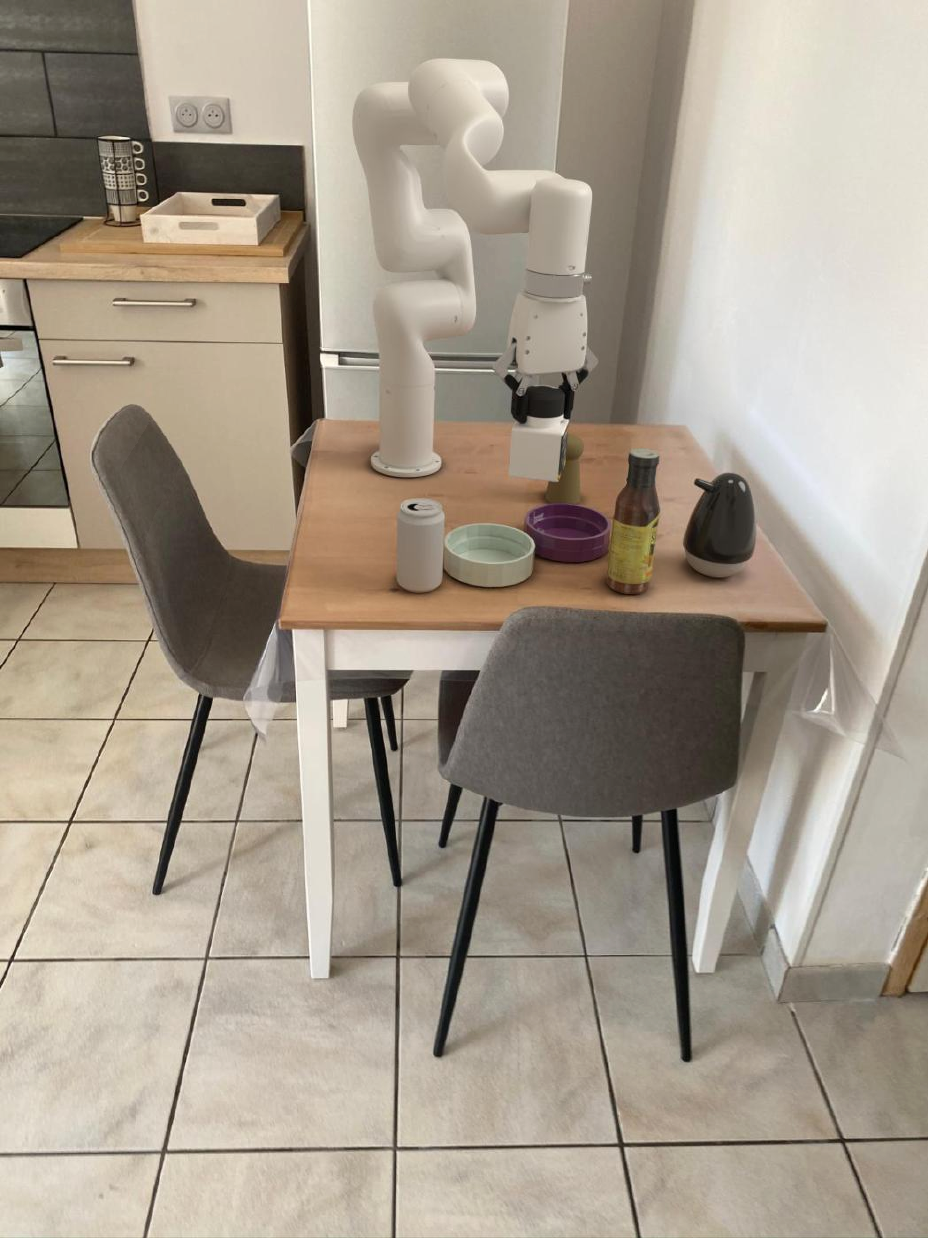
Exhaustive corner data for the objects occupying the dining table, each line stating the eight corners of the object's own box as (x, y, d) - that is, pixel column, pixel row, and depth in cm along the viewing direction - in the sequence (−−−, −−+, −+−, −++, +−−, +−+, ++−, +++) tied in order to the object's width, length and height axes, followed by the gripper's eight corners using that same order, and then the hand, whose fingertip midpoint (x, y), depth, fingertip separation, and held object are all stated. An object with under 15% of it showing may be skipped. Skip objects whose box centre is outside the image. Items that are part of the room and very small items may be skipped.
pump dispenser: (669, 553, 146) (686, 459, 138) (735, 553, 147) (755, 460, 139) (688, 585, 137) (706, 487, 130) (758, 586, 138) (780, 488, 130)
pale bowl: (430, 554, 142) (430, 530, 140) (508, 541, 147) (510, 518, 145) (465, 595, 132) (466, 569, 130) (548, 580, 137) (550, 555, 135)
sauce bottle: (653, 596, 134) (675, 463, 124) (609, 596, 134) (628, 462, 123) (642, 574, 140) (662, 445, 130) (600, 574, 139) (617, 444, 129)
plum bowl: (508, 532, 150) (510, 509, 148) (581, 521, 155) (583, 498, 153) (547, 569, 140) (550, 544, 138) (623, 556, 145) (627, 532, 143)
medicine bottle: (558, 483, 133) (566, 398, 127) (508, 477, 134) (513, 392, 128) (565, 465, 139) (572, 383, 133) (516, 460, 140) (522, 379, 134)
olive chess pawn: (583, 495, 164) (591, 433, 158) (575, 508, 159) (583, 445, 153) (549, 489, 165) (555, 428, 160) (540, 502, 161) (546, 439, 155)
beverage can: (395, 573, 137) (396, 495, 131) (440, 573, 137) (443, 496, 131) (397, 595, 131) (397, 515, 125) (443, 595, 132) (446, 515, 126)
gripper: (597, 275, 130) (582, 404, 139) (480, 280, 123) (473, 415, 133) (626, 288, 124) (608, 422, 133) (505, 293, 118) (495, 433, 127)
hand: (541, 417), depth 133 cm, fingers closed on medicine bottle, 6 cm apart
